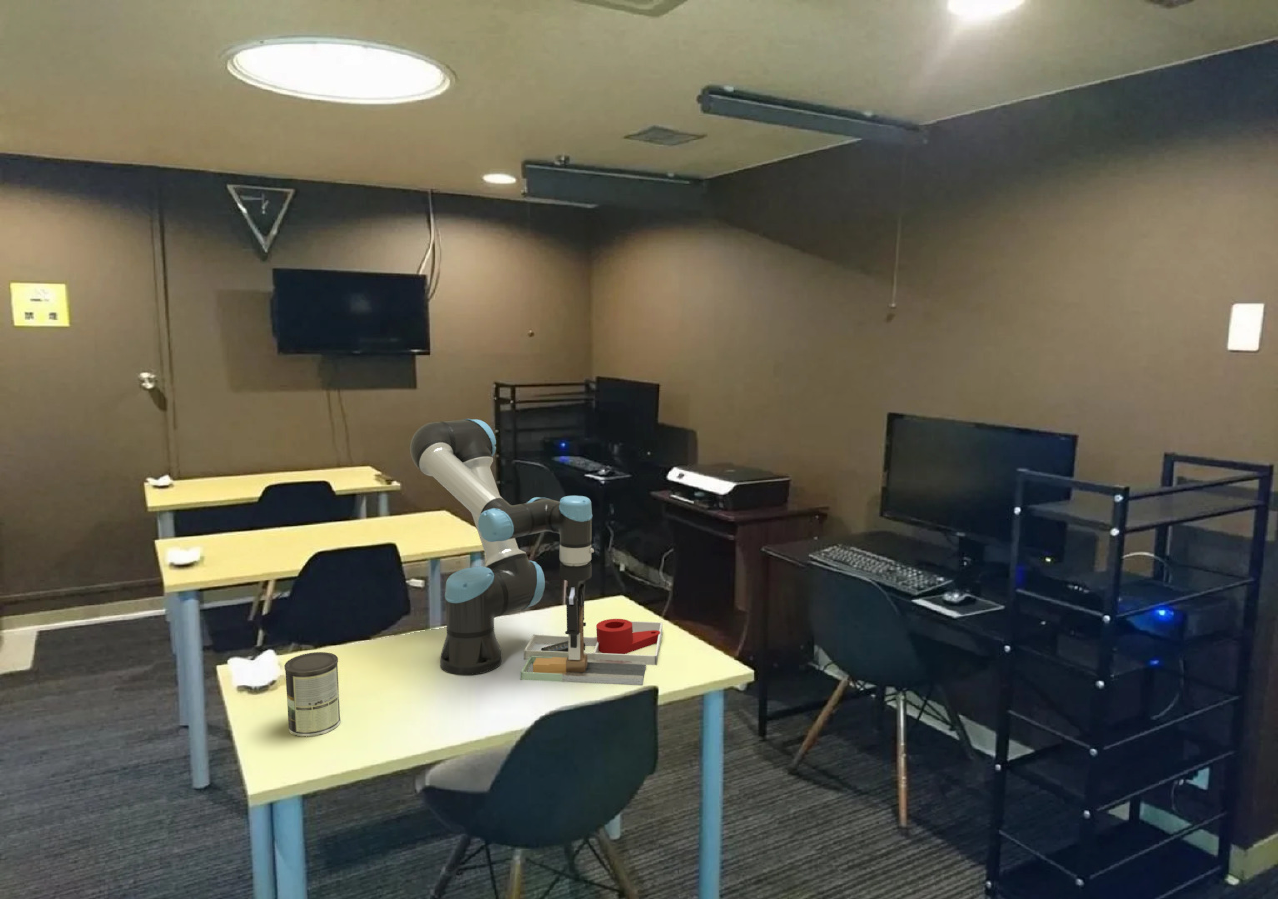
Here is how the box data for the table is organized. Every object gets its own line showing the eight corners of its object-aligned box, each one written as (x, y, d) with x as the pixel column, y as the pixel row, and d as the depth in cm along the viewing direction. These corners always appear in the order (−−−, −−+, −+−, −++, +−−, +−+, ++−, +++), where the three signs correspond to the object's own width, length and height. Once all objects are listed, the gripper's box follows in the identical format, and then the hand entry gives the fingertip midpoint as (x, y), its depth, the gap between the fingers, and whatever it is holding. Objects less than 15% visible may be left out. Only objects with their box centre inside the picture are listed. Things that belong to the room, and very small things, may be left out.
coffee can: (276, 731, 164) (272, 666, 162) (314, 710, 174) (311, 648, 172) (315, 741, 160) (311, 675, 158) (351, 719, 170) (348, 656, 168)
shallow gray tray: (562, 684, 187) (562, 675, 187) (569, 667, 197) (569, 658, 197) (642, 688, 186) (642, 679, 185) (645, 670, 196) (645, 661, 195)
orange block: (549, 675, 191) (549, 663, 190) (552, 668, 195) (552, 657, 194) (566, 676, 190) (565, 664, 190) (569, 669, 194) (568, 657, 194)
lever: (606, 659, 202) (605, 634, 201) (591, 647, 210) (590, 623, 209) (668, 644, 210) (667, 620, 209) (651, 633, 218) (650, 610, 217)
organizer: (524, 662, 200) (523, 650, 200) (543, 628, 224) (543, 617, 224) (656, 667, 197) (656, 656, 197) (662, 632, 221) (662, 622, 221)
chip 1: (533, 676, 191) (532, 664, 191) (536, 669, 195) (536, 657, 195) (549, 676, 191) (549, 665, 190) (552, 670, 195) (552, 658, 194)
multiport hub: (540, 656, 203) (540, 647, 203) (576, 646, 210) (576, 638, 210) (549, 662, 200) (549, 653, 200) (585, 652, 207) (585, 643, 206)
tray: (520, 682, 188) (520, 672, 188) (530, 665, 198) (529, 656, 198) (562, 684, 187) (562, 674, 187) (569, 667, 197) (569, 657, 197)
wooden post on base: (584, 672, 190) (583, 611, 187) (566, 671, 190) (564, 611, 188) (587, 664, 194) (586, 605, 192) (569, 663, 194) (568, 604, 192)
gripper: (586, 572, 180) (585, 670, 183) (596, 553, 196) (595, 644, 199) (553, 571, 181) (553, 669, 184) (566, 552, 197) (566, 642, 200)
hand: (575, 655), depth 192 cm, fingers closed on wooden post on base, 3 cm apart
